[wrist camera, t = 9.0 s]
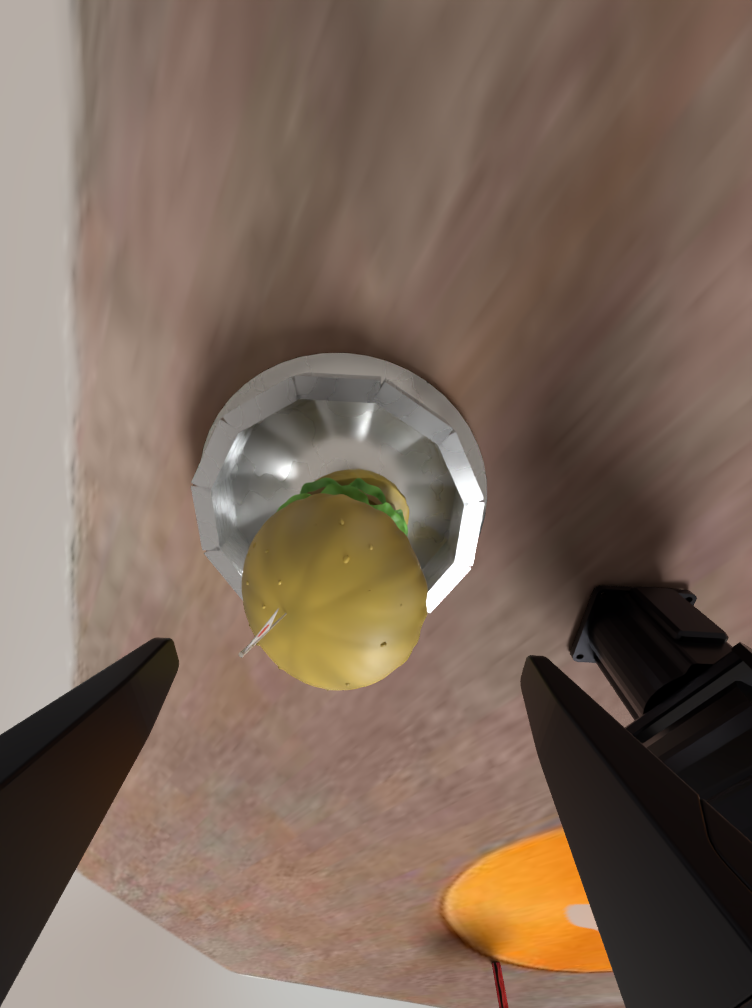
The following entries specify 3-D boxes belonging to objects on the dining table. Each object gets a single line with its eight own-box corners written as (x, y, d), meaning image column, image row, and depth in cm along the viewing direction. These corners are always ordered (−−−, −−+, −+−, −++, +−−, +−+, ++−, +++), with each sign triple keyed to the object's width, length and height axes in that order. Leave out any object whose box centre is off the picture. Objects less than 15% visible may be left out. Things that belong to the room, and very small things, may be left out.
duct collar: (461, 619, 25) (471, 654, 22) (224, 605, 25) (202, 638, 22) (511, 361, 18) (535, 363, 15) (180, 344, 18) (141, 342, 15)
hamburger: (366, 580, 23) (347, 794, 12) (267, 526, 21) (142, 712, 10) (437, 490, 20) (500, 659, 9) (330, 420, 19) (248, 521, 8)
